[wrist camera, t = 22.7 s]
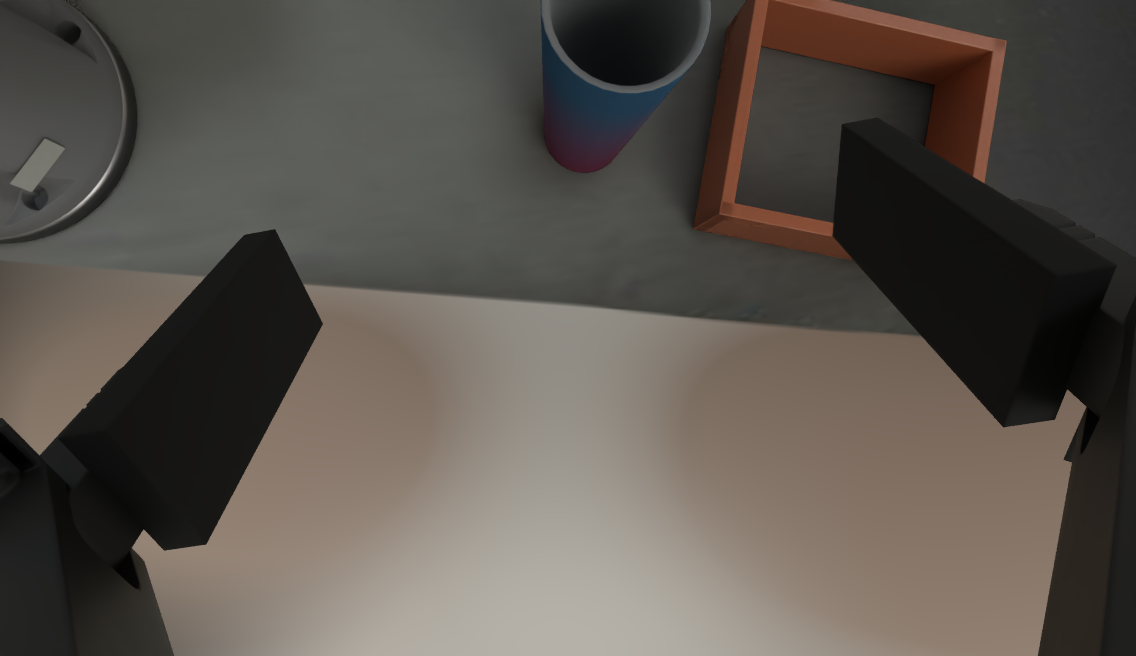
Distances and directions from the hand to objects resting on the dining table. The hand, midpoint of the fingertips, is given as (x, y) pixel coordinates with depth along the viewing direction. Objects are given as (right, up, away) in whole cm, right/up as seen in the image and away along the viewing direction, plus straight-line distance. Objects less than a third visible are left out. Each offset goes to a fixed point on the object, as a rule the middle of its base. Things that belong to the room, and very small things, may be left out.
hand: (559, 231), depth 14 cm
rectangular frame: (+17, +10, +26) cm, 32 cm away
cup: (+1, +10, +24) cm, 27 cm away
